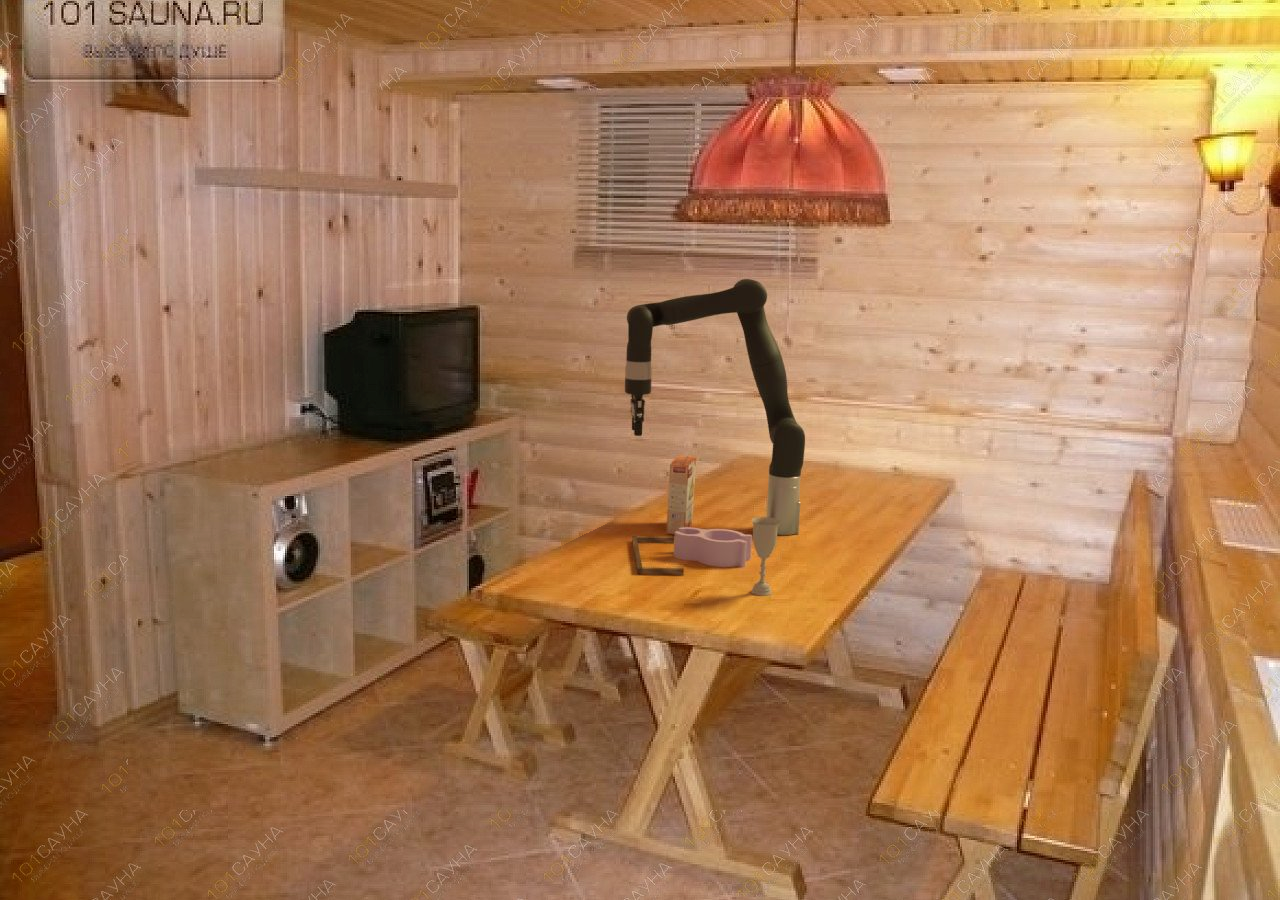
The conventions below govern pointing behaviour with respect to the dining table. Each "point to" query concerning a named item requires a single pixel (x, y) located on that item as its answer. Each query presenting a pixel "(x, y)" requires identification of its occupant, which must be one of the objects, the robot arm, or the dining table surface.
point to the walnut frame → (646, 569)
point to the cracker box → (681, 493)
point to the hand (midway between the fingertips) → (636, 432)
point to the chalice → (764, 548)
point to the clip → (713, 546)
